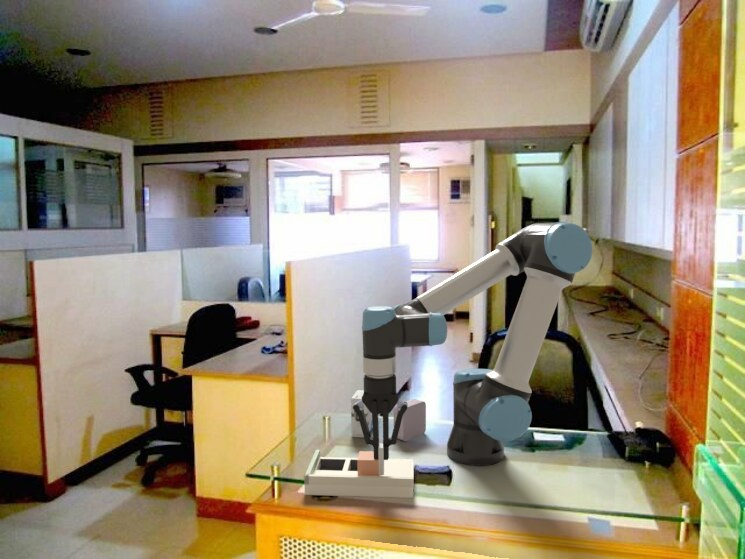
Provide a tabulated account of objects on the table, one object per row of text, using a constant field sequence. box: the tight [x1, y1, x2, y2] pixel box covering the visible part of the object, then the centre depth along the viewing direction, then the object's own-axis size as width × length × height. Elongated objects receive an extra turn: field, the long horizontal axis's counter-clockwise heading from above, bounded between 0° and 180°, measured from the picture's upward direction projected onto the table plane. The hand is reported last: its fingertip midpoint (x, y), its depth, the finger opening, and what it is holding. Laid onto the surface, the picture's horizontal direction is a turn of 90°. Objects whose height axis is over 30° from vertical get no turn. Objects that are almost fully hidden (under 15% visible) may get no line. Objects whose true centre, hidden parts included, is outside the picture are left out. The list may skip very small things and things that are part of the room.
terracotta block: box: [357, 450, 380, 476], centre depth 129 cm, size 5×5×5 cm
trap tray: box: [303, 449, 415, 499], centre depth 131 cm, size 25×15×4 cm, turn 85°
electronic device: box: [393, 398, 427, 442], centre depth 160 cm, size 10×5×10 cm, turn 135°
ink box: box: [350, 389, 373, 438], centre depth 162 cm, size 9×5×15 cm, turn 168°
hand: (381, 472), depth 127 cm, fingers closed
